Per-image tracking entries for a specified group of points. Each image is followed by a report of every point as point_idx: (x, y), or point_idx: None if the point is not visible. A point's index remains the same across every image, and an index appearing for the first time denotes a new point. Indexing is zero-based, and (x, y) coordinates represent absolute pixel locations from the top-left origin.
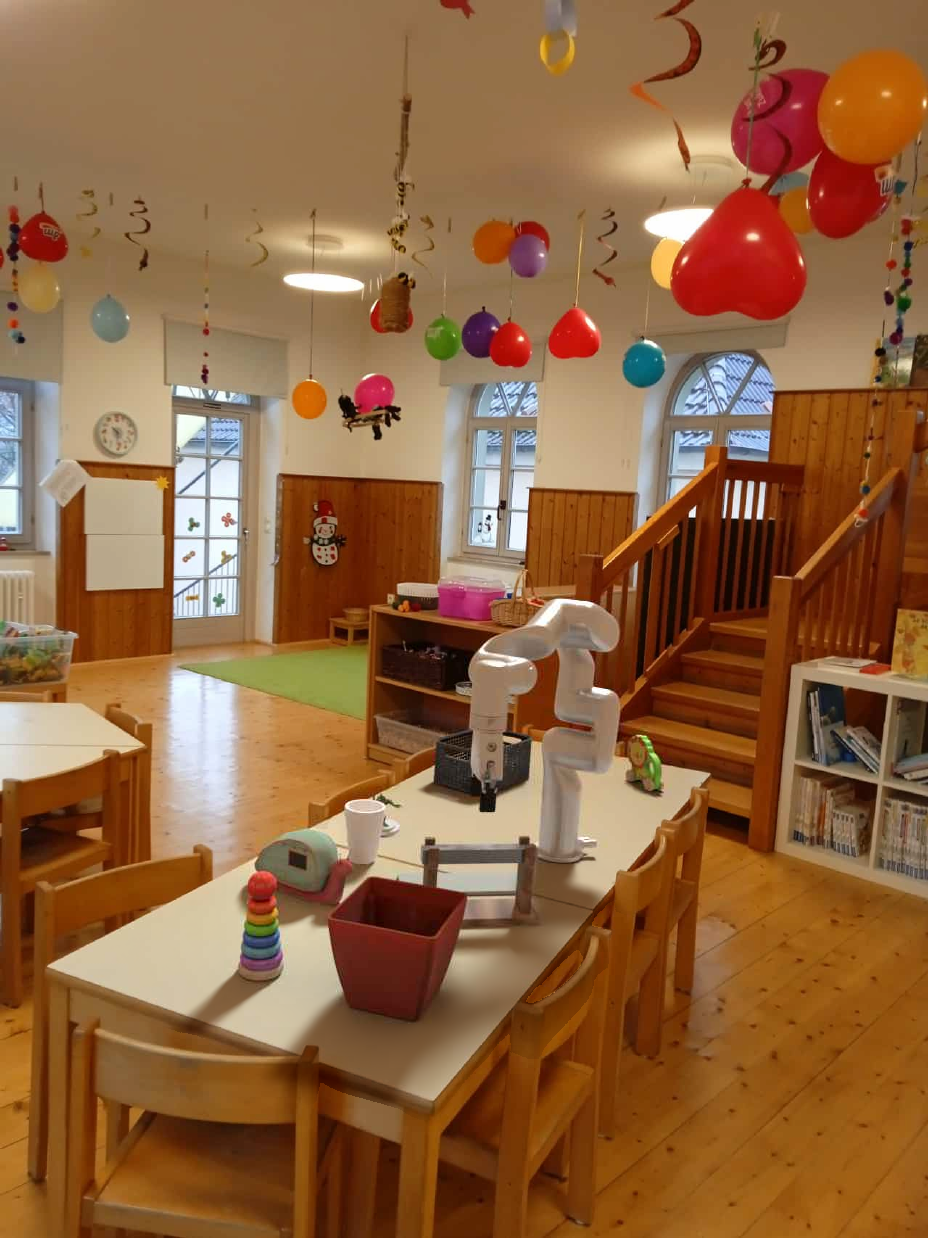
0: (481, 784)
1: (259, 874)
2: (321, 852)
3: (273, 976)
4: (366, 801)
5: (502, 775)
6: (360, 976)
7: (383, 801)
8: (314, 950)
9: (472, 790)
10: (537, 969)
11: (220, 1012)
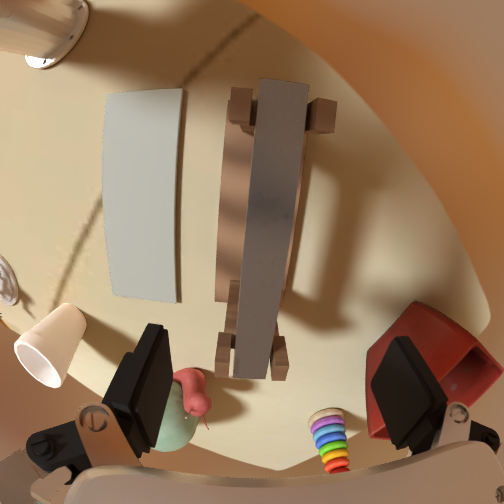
0: (150, 393)
1: None
2: (188, 432)
3: (342, 412)
4: (19, 354)
5: (497, 462)
6: None
7: None
8: (304, 392)
9: (166, 396)
10: (423, 177)
11: (365, 423)
